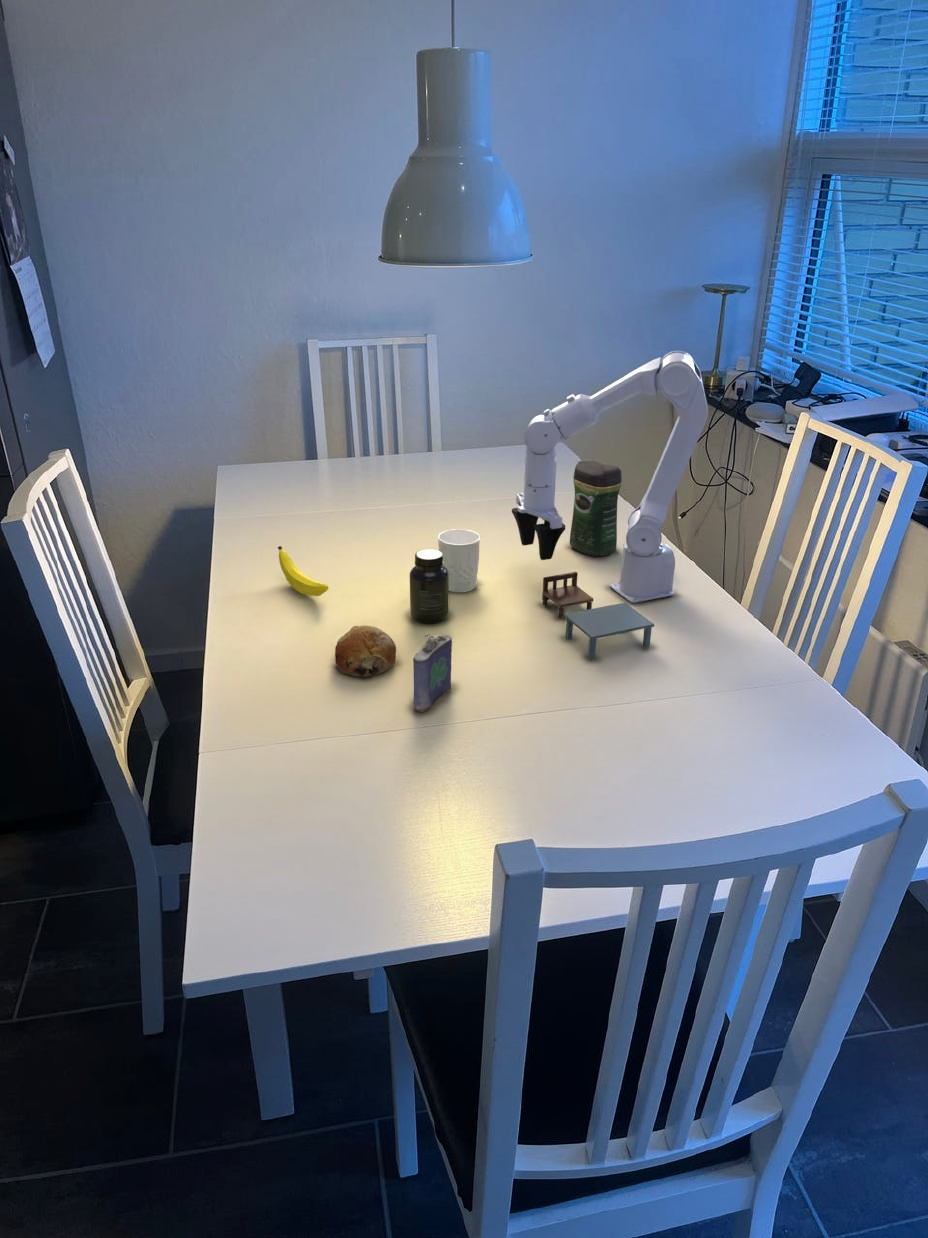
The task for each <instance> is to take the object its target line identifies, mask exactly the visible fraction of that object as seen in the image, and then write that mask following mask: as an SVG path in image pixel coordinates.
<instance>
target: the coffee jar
mask: <svg viewBox="0 0 928 1238" xmlns="http://www.w3.org/2000/svg"><path fill="white" fill-rule="evenodd" d="M572 478H573V479H572V481H573V487H574V500H573V509H572V520H571V526H570V532H569V533H570V534H569V545H570V546H571V548H572V549H574V550H576V551H578V552H581V553H584V554H586V555H588V556H593V557H594V556H607V555H610V554H613V552H615V551H616V549H617V546H618V545H617V542H618V500H619V494H620V491H621V488H622V483H623V476H622V469H621V468H620V467H618V466H615V465H611V464H608V463H605V462H602V461H599V460H597V459H594V458H588V459H584V460H579V461H578V462H577V463H576V465H575V467H574V472H573V477H572Z"/></svg>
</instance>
